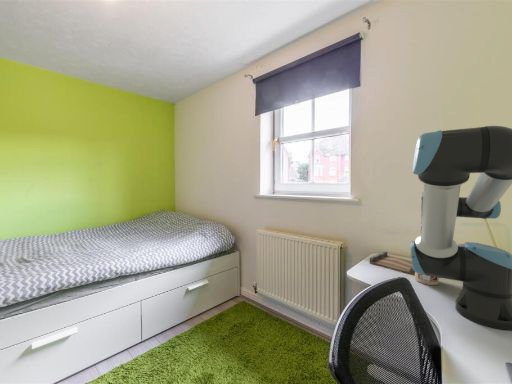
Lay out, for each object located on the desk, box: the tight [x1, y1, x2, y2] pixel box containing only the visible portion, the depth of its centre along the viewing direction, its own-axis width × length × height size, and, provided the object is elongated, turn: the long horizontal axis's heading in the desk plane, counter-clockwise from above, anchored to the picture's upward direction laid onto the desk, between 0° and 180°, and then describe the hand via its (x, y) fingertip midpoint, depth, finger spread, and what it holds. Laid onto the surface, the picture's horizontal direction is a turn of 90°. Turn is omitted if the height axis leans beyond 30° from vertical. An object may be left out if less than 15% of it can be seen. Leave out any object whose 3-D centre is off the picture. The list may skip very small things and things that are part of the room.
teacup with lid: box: [414, 272, 440, 286], centre depth 103 cm, size 12×9×12 cm
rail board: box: [369, 251, 415, 276], centre depth 125 cm, size 18×21×3 cm
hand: (430, 276), depth 103 cm, fingers open, 9 cm apart
